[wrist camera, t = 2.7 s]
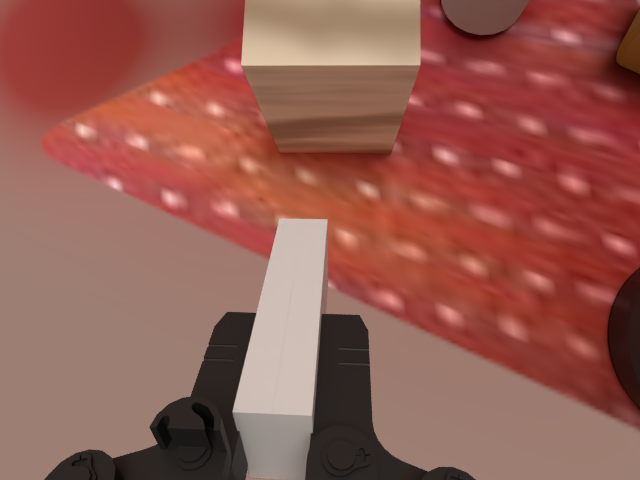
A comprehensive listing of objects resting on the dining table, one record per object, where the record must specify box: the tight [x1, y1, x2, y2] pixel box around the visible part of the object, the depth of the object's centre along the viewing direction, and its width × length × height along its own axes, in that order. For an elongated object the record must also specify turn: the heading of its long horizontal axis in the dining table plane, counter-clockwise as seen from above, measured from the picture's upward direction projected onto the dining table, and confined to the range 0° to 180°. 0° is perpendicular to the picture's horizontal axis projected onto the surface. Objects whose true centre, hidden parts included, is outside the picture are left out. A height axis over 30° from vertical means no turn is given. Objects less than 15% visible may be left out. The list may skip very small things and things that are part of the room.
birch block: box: [241, 0, 420, 154], centre depth 30 cm, size 5×10×14 cm, turn 88°
